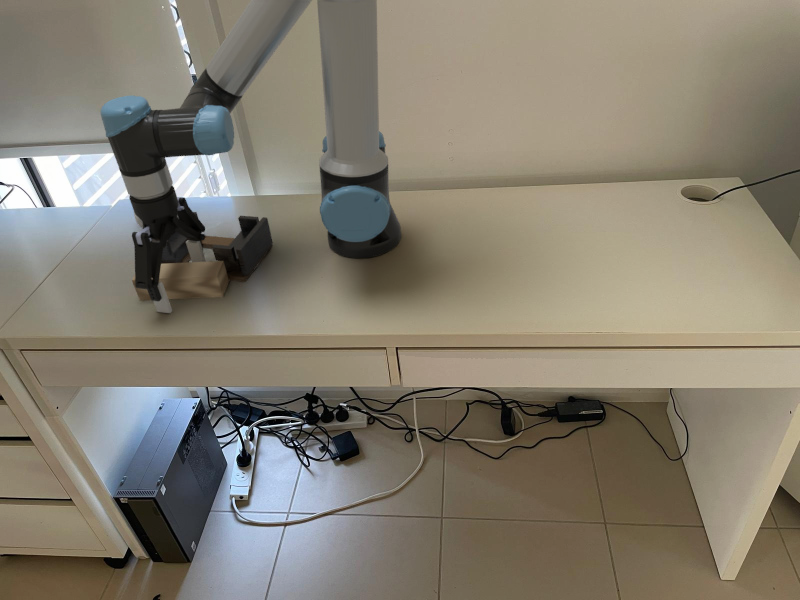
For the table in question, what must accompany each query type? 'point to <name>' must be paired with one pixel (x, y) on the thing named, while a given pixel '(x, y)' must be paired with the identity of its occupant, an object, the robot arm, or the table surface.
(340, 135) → the robot arm
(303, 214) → the table surface
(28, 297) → the table surface
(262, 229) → the brackets
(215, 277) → the rail
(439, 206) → the table surface
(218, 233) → the table surface
